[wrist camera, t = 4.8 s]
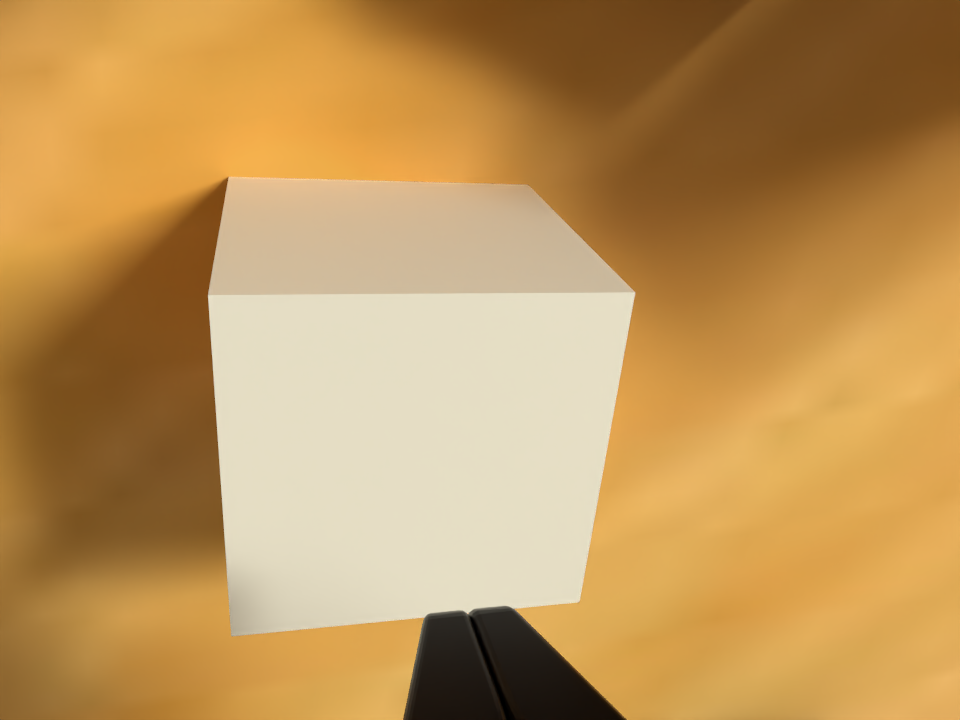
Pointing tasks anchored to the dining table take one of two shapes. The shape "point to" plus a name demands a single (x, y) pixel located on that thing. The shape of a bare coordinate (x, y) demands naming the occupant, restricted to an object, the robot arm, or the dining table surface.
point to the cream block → (407, 398)
